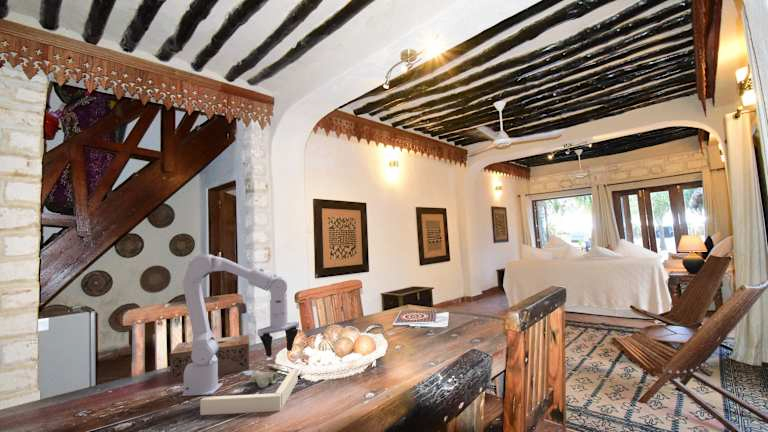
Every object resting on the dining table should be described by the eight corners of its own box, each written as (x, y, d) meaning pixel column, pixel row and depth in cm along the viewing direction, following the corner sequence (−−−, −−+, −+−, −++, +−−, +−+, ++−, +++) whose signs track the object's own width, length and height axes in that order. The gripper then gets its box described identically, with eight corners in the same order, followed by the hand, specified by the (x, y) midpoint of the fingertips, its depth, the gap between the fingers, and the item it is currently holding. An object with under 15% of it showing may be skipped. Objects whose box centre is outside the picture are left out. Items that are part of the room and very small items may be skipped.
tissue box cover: (249, 359, 142) (249, 334, 143) (248, 370, 129) (248, 343, 130) (178, 369, 133) (178, 343, 134) (169, 382, 120) (170, 353, 121)
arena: (200, 415, 95) (200, 400, 95) (232, 384, 116) (232, 372, 116) (280, 410, 95) (280, 396, 96) (297, 380, 116) (297, 368, 116)
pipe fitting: (267, 391, 110) (277, 381, 117) (266, 379, 110) (276, 369, 117) (244, 390, 112) (256, 380, 119) (244, 378, 112) (255, 369, 119)
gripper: (264, 318, 111) (264, 361, 110) (303, 310, 121) (303, 350, 120) (254, 315, 116) (254, 356, 115) (292, 308, 126) (293, 346, 125)
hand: (279, 353), depth 118 cm, fingers open, 7 cm apart
